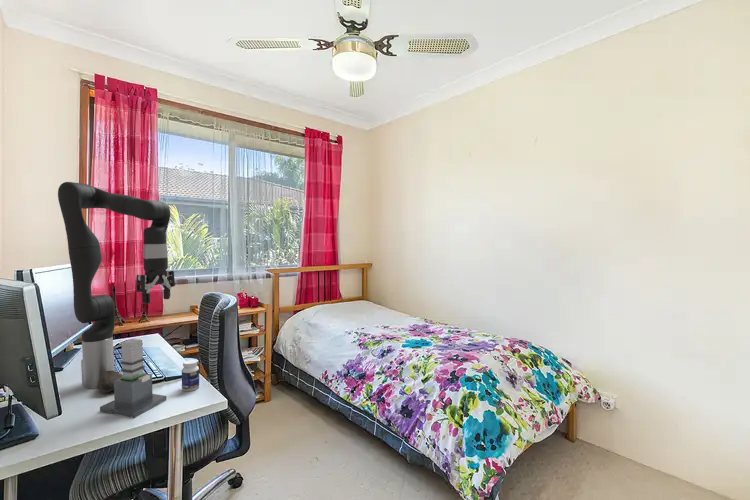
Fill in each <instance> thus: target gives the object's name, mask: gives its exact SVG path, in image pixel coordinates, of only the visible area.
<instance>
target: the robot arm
mask: <svg viewBox="0 0 750 500" xmlns="http://www.w3.org/2000/svg"><path fill="white" fill-rule="evenodd" d="M57 199H58V204H59V207H60V211H61V215H62V220H63V222H64V227H65V228H64V229H65V233H66V234H65V235H66V241H67V249H68V257H69V262H70V267H71V275H72V276H71V277H72V286H73V291H72V292H73V311H74V316H75V318H76V319H77V321H78V322H79V323H81V324H88V323H93V324H92V325H91V326H90V327H89V328H87V329H85V331H83V332H82V333H81V349H82V352H81V353H82V359H81V360H80V367H81V368H80V369H81V385H82V386H83V388H85V389H98V382H99V380H100V377H101V376H102V374H103V373H105V372H106V371H115V360H114V335H113V334H114V330H115V327H116V326H115V323H116V322H115V320H116V319H115V316H116V315H115V314H116V307H115V306H116V305H115V302H114V300H113V297H111V296H110V295H108V294H99V295H92V283H93V281H94V280H93V279H94V278H95V276H96V274H97V272H98V270H99V268H100V266H101V265H102V264H101V263H102V260H103V259H102V258H103V257H102V252H101V251H102V250H101V245H100V244H101V243H100V241H99V239H98V237H97V236H96V235H95V233H94V232H93V231H92V230H91V228H90V227H89V226H88V224H87V223H86V221H85V219H84V217H83V211H82V209H84V210H86V209H105V210H109V211H112V212H114V213H116V214H120V215H124V216H125V215H126V216H129V217H130V216H131V217H134V218H136V219H140V220H144V221H151V224H150V226H149V227H145V229H144V230H143V233H142V234H143V239H142V240H143V247H142V261H143V265H142V266H143V270H144V271H145V273H144V274H137V275H136V278H135V279H136V282H135V283H136V285H135V286H136V287H135V291H136V292H137V293H141V294H142V295H141V297H142V299H141V300H142V303H143V305H149V304H150V303H151V293H150V291H151V290H152V289H153V288H154V287H155V286H157V285H161V287H162V288H163V290H162V292H163V299H164V300H170V297H171V289H172V288H173V287H175V286H176V280H175V279H176V278H175V271H174V270H168V269H169V259H168V255H169V254H168V248H167V247H168V246H167V231H168V227H169V223H170V220H171V219H170V218H171V210H170V209H171V208H170V206H169V205H168V204H167V203H166V202H165V201H161V200H150V199H144V198H143V199H142V198H140V197H137V196H132V195H127V194H122V193H112V192H109V191H105V190H103V189H100V188H97V187H95V186H93V185H90V184H88V183H80V182H74V181H64V182H62V183H61V184H60V185H59V187H58V190H57Z"/></svg>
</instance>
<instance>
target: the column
mask: <svg viewBox="0 0 750 500" xmlns="http://www.w3.org/2000/svg"><path fill="white" fill-rule="evenodd" d="M120 343H121V361H120V365H121V366H122V368H121V369H120V372H121V373H122V375H123V376H122V377H121V379H123V381H130V382H133V381H135V380H137V379H138V378H140V377H142V376H144V375H145V374H146V373H145V372H144V369H145V368H146V367H145V365H144V361H145V358H144V354H143V351H144V350H143V339H140V338H139V339H138V338H131V339H128V340H125V341H121V342H120Z"/></svg>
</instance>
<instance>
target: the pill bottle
mask: <svg viewBox="0 0 750 500" xmlns="http://www.w3.org/2000/svg"><path fill="white" fill-rule="evenodd" d="M182 367H183V368H182V369H181V389H182V391H184V392H192V391H195V390H197V389H198V388H199V387H200V368H199V366H198V360H197V359H188V360H185V361H183V363H182Z"/></svg>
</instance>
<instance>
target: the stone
mask: <svg viewBox="0 0 750 500" xmlns="http://www.w3.org/2000/svg"><path fill="white" fill-rule="evenodd" d="M122 376H123V373H120V372H118V371H115V370H114V371H106V372H105V373H103V374H102V376H101V377H100V380H99V382H98V388H97V391H99V393H100V394H108V393H110V392H114V380H117V379H119V378H121V377H122Z"/></svg>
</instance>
